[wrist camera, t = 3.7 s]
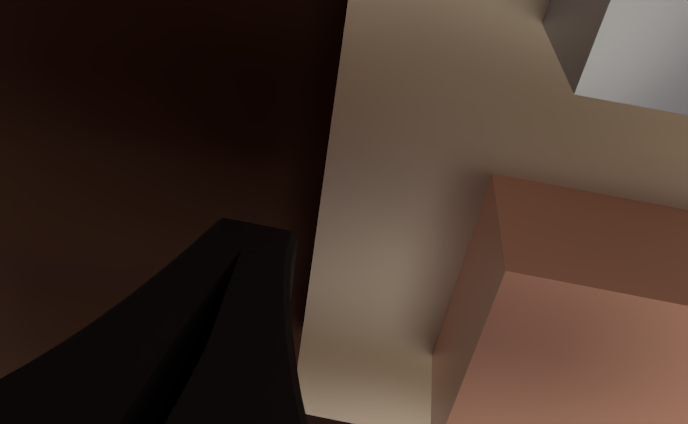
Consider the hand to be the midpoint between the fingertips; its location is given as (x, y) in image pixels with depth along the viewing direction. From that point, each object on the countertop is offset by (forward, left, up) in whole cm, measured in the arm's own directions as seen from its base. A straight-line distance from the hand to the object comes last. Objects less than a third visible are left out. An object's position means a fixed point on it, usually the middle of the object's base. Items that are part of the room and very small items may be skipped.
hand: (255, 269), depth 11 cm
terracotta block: (0, -6, -1) cm, 6 cm away
